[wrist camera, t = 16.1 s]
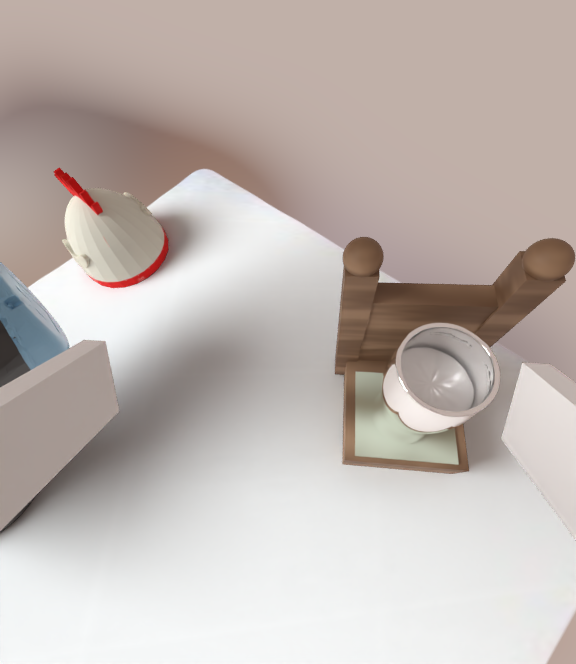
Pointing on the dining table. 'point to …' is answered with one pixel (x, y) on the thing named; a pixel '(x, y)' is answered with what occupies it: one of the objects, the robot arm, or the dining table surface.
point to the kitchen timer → (112, 235)
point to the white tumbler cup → (434, 383)
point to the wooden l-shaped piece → (410, 313)
